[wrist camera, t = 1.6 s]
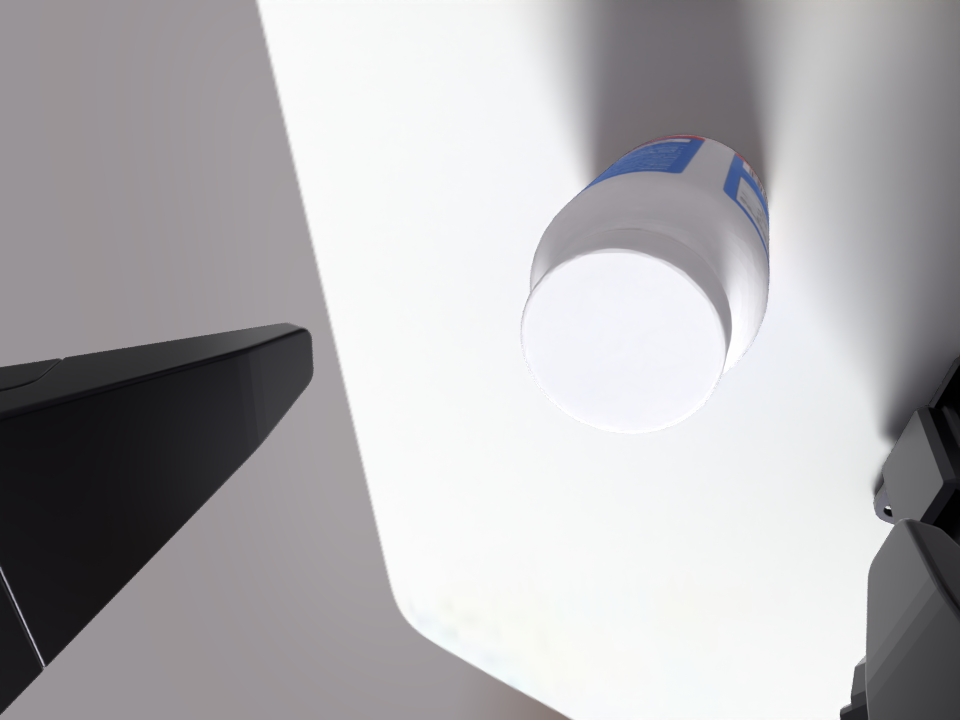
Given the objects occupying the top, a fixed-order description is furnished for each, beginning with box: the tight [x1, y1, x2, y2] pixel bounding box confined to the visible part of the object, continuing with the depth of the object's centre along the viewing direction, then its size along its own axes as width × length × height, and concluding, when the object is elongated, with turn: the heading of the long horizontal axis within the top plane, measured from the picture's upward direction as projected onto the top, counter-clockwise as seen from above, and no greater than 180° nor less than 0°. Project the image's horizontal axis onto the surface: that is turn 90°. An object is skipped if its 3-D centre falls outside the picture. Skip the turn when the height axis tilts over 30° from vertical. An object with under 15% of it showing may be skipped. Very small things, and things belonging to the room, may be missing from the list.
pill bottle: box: [521, 135, 769, 433], centre depth 16 cm, size 6×5×10 cm
